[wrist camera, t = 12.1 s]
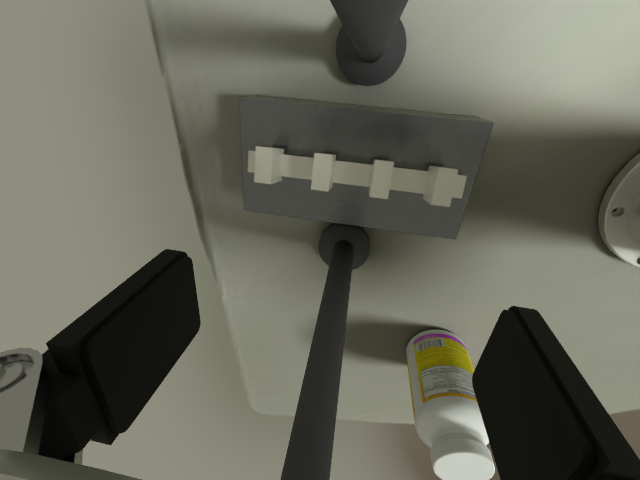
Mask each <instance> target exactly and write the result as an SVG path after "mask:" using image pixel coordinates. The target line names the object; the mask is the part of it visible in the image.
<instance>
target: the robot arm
mask: <svg viewBox="0 0 640 480" xmlns="http://www.w3.org/2000/svg"><path fill="white" fill-rule="evenodd" d="M598 224H599V232H600V235H601V237H602V240H603V242H604V243H605V245H606V246H607V247H608V249H609V250H610V251H611V252H613V253H614V254H615V255H616V256H618V257H619V258H620V259H622V260H623V261H625V262H627V263H628V264H630V265H632V266H635V267H638V268H640V153H639V154H638V155H636V156H635V157H634V158H633V159H632V160H631V161H630V162H628V163H627V164H626V165H625V167H624V168H623V169H622V170H621V171H620V172H619V173H618V175H617V176H616V177H615V178H614V180H613V181H612V183H611V184H610V186H609V188H608V189H607V191H606V193H605V195H604V198H603V200H602V203H601V205H600V210H599V216H598ZM199 328H200V315H199V307H198V301H197V293H196V286H195V278H194V271H193V263H192V260H191V258H189V257H188V255H187V254H186V253H185V252H182V251H176V250H169V249H166V250H164V251H162V252H161V253H160V254H159V255H158V256H156V257H155V258H153V259H152V260H151V261H150V262H148V263H147V264H146V265H145V266H143V267H142V268H141V269H140V270H138V271H137V272H136V273H134V274H133V275H132V276H131V277H129V278H128V279H127V280H126V281H124V282H123V283H122V284H121V285H119V286H118V287H117V288H115V289H114V290H113V291H112V292H110V293H109V294H108V295H107V296H105V297H104V298H103V299H102V300H100V301H99V302H98V303H96V304H95V305H94V306H93V307H92V308H90V309H89V310H88V311H86V312H85V313H84V314H83V315H82V316H80V317H79V318H77V319H76V320H75V321H74V322H73V323H71V324H70V325H69V326H67V327H66V328H65V329H64V330H62V331H61V332H60V333H59V334H57V335H56V336H55V337H54V338H52V339H51V340H50V341H48V342H47V343H46V344H47V346H48V350H47V351H46V352H45V353H44V354H42V355H41V354H40V353H39V352H38V351H37V350H33V349H30V348H19V349H13V350H8V351H4V352H1V353H0V480H141V479H137V478H133V477H129V476H125V475H121V474H117V473H113V472H109V471H105V470H101V469H97V468H93V467H88V466H84V465H82V455H83V448H84V447H85V446H86V444H87V443H88V442H89V441H90V439H91V440H92V441H96V442H100V443H104V444H108V445H111V444H112V443H113V441H114V440H115V439H116V437H117V436H118V435H119V433H123V432H125V431H126V430H127V429H128V428H129V427H130V425H131V424H132V423H133V421H134V420H135V419H136V417H137V416H138V415H139V413H140V412H141V410H142V409H143V408H144V406H145V405H146V403H147V402H148V401H149V399H150V398H151V397H152V395H153V394H154V392H155V391H156V390H157V388H158V387H159V385H160V384H161V382H162V381H163V380H164V378H165V377H166V376H167V374H168V373H169V372H170V370H171V369H172V367H173V366H174V365H175V363H176V362H177V360H178V359H179V358H180V356H181V355H182V353H183V352H184V351H185V349H186V348H187V346H188V345H189V344H190V342H191V341H192V340H193V338H194V337H195V335H196V334H197V332H198V331H199ZM472 386H473V390H474V393H475V396H476V399H477V403H478V406H479V409H480V413H481V416H482V419H483V423H484V426H485V429H486V433H487V436H488V439H489V442H490V446H491V449H492V452H493V456H494V459H495V462H496V465H497V469H498V472H499V476H500V478H501V480H640V460H639V458H638V457H637V456H636V454H635V452H634V451H633V449H632V448H631V446H630V445H629V444H628V442H627V441H626V439H625V438H624V436H623V435H622V433H621V432H620V431H619V429H618V428H617V426H616V425H615V423H614V422H613V420H612V419H611V417H610V416H609V414H608V413H607V411H606V410H605V408H604V407H603V406H602V404H601V403H600V401H599V400H598V398H597V397H596V395H595V394H594V392H593V391H592V389H591V388H590V386H589V385H588V384H587V382H586V381H585V379H584V378H583V376H582V375H581V373H580V372H579V370H578V369H577V367H576V366H575V365H574V363H573V362H572V360H571V359H570V357H569V356H568V354H567V353H566V351H565V350H564V348H563V347H562V346H561V344H560V343H559V341H558V340H557V338H556V337H555V335H554V334H553V332H552V331H551V329H550V328H549V326H548V325H547V324H546V322H545V321H544V319H543V318H542V316H541V315H540V313H539V312H538V311H537V310H534V309H528V308H522V307H516V306H512V307H510V308H509V309H508V310H503V311H502V313H501V314H500V316H499V319H498V321H497V323H496V325H495V327H494V329H493V332H492V334H491V336H490V338H489V340H488V342H487V345H486V347H485V349H484V351H483V353H482V355H481V358H480V360H479V362H478V364H477V366H476V368H475V371H474V373H473V376H472Z"/></svg>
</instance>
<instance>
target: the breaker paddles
mask: <svg viewBox="0 0 640 480" xmlns="http://www.w3.org/2000/svg"><path fill="white" fill-rule="evenodd" d="M393 166H394V162H392V161H384V160H376V159H374V162H373V165H372V164H363V163H355V162H346V161H338V160H336V155H332V154H324V153H314V158H312V157H303V156H295V155H286V154H284V149H280V148H272V147H261V146H256V151H250V150H249V151H248V172H252V173H254V182H257V183H264V184H273V183H276V182H280V181H282V176H284V177H292V178H300V179H308V180H312V182H311V189H312V190H319V191H327V192H328V191H329V190H330V189H331V188H332V186H333V183H341V184H349V185H357V186H365V187H370V188H369V196H370V197H374V198H382V199H388V195H389V190H397V191H405V192H413V193H421V194H423V199H424V200H425V201H427V202H428V203H429V204H431V205H437V206H445V207H450V204H451V200H452V197H453V198H461V199H462V195H463V191H464V187H465V183H466V178H467V176H464V175H457V174H458V169H452V168H445V167H436V166H429V169H428V171H423V170H414V169H406V168H397V167H393Z"/></svg>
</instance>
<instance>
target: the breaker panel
mask: <svg viewBox="0 0 640 480" xmlns="http://www.w3.org/2000/svg"><path fill="white" fill-rule="evenodd" d="M239 100H240V125H241V150H242V175H243V200H244V210H245V211H252V212H260V213H267V214H274V215H281V216H289V217H296V218H303V219H311V220H318V221H325V222H332V223H340V224H347V225H354V226H362V227H369V228H376V229H383V230H391V231H398V232H405V233H413V234H420V235H427V236H435V237H442V238H449V239H456V237H457V234H458V231H459V228H460V225H461V222H462V219H463V215H464V212H465V209H466V206H467V203H468V200H469V197H470V194H471V191H472V188H473V185H474V182H475V179H476V175H477V172H478V169H479V166H480V163H481V160H482V157H483V154H484V151H485V148H486V145H487V142H488V139H489V135H490V132H491V129H492V126H493V123H492V122H490V121H487V120H484V119H481V118H479V117H475V116H465V115H454V114H444V113H434V112H424V111H414V110H404V109H394V108H384V107H373V106H363V105H353V104H343V103H333V102H323V101H313V100H303V99H292V98H282V97H272V96H262V95H254V96H247V97H239ZM256 146H261V147H272V148H280V149H284V154H286V155H295V156H303V157H312V158H314V153H324V154H332V155H336V160H338V161H346V162H355V163H363V164H372V165H373V162H374V159H376V160H384V161H392V162H394V166H393V167H397V168H406V169H414V170H423V171H428V169H429V166H436V167H445V168H452V169H458V174H457V175H464V176H467V178H466V183H465V187H464V191H463V195H462V199H461V198H453V197H452V200H451V204H450V207H445V206H437V205H431V204H429V203H428V202H427V201H425V200H424V199H423V194H421V193H413V192H405V191H397V190H389V195H388V199H382V198H374V197H370V196H369V188H370V187H365V186H357V185H349V184H341V183H333V186H332V188H331V189H330V190H329V191H328V192H327V191H319V190H312V189H311V182H312V180H308V179H300V178H292V177H284V176H282V181H280V182H276V183H273V184H264V183H257V182H254V173H252V172H248V151H249V150H250V151H256Z"/></svg>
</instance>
